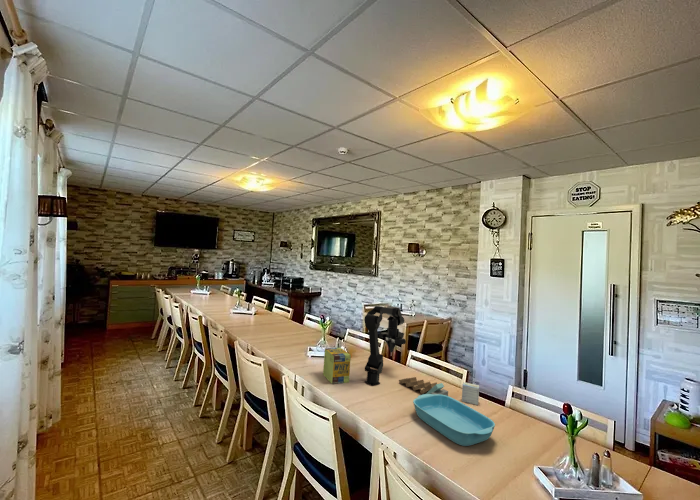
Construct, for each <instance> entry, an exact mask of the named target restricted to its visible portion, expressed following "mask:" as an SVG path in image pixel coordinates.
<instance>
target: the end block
mask: <svg viewBox="0 0 700 500" xmlns="http://www.w3.org/2000/svg"><path fill="white" fill-rule="evenodd" d="M431 394H442V395H446V396H449V391H448V390H446V389H444V388H442V389H441V390H439V391H436V392H432V393H431Z"/></svg>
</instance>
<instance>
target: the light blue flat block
mask: <svg viewBox="0 0 700 500" xmlns="http://www.w3.org/2000/svg"><path fill="white" fill-rule="evenodd" d="M444 387H445V386H444V383H442V382H441V383H437V384H436V385H435V386H434V387H433V388H432V389H431V390H429V391H428V392H427V393H425V394H431V393H432V392H436V391H439V390H442V389H444Z"/></svg>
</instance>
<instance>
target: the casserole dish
mask: <svg viewBox="0 0 700 500" xmlns="http://www.w3.org/2000/svg"><path fill="white" fill-rule="evenodd" d="M412 402H413V406H414V410H415V413H416V415H417V416H418V417H419V419H420V420H422V422H424V423H425V424H427V425H429V427H431V428H433V429H434V430H435V431H437V432H438V433H440V434H441V435H442V436H444V437H446V439H448V440H450V441H451V442H453V443H454V444H457V445H459V446H463V447H469V446H473V445H476V444H479V443H483V442H484V441H485V442H486V441H487V440H488V439H489V438H490V437H491V436H492V433H493V431H494V429H495V427H496V424H495V422H494V420H492V419H491V418H489V417H488V416H486V414H485V415H484V414H482V412H480V411H477V410H475V409H474V408H473V407H470V406H468V405H466V404H465V403H464V402H462V401H459V400H458V399H456V398H453V397H451V396H449V395H448V396H446V395H442V394H426V393H425V394H422V395H421V394H420V395H418V396H417V397H416V398H414V399H413V401H412Z"/></svg>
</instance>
